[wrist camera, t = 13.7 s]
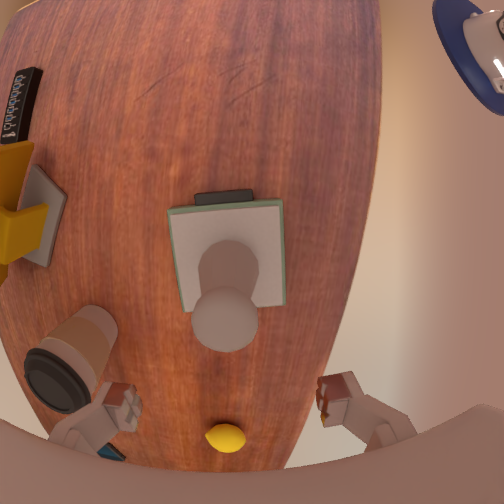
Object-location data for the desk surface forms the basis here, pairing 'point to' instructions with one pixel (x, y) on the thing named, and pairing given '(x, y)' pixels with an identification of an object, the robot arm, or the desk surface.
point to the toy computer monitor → (26, 209)
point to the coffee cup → (71, 360)
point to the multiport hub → (20, 105)
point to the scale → (229, 228)
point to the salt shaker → (226, 297)
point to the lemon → (226, 438)
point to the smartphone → (110, 453)
